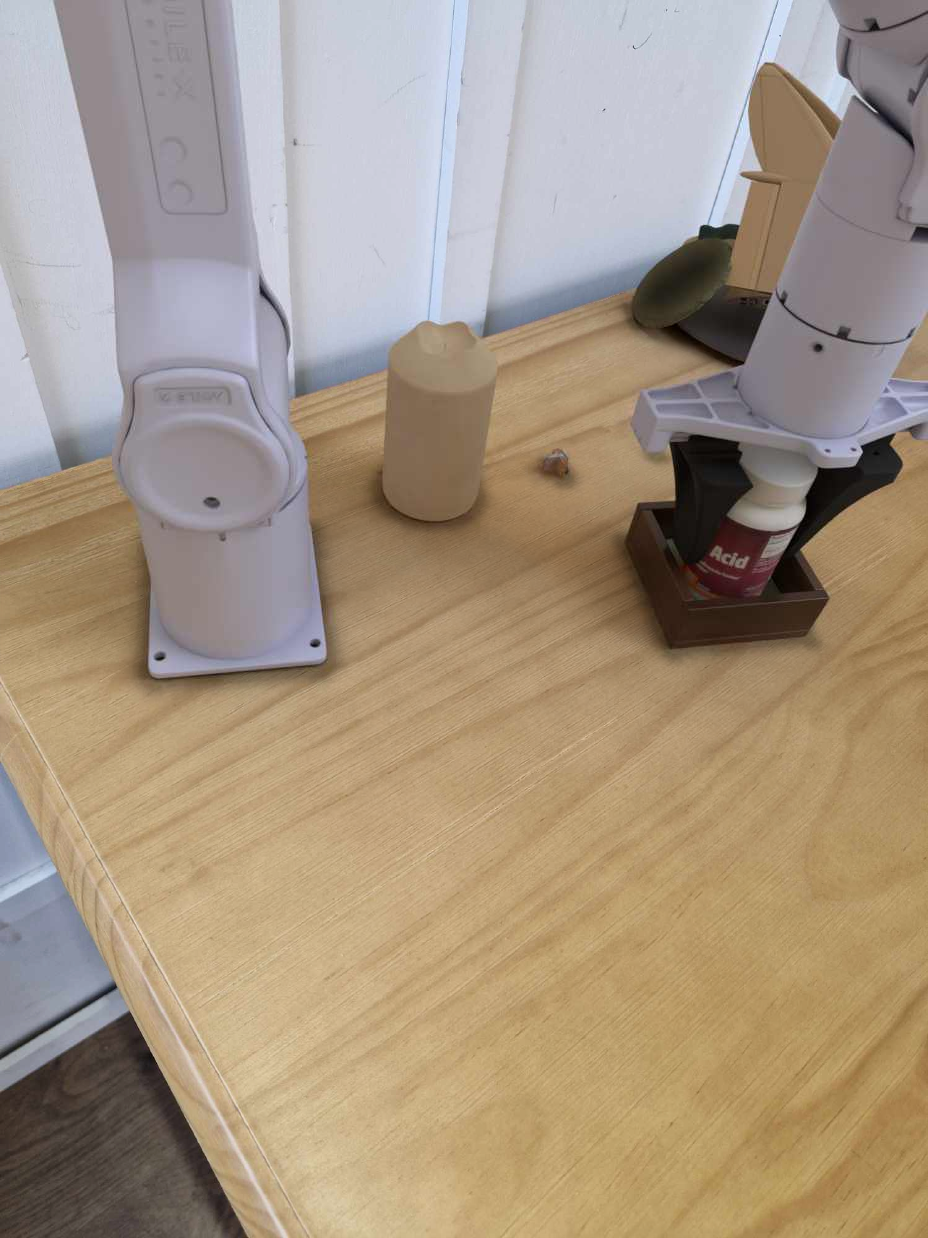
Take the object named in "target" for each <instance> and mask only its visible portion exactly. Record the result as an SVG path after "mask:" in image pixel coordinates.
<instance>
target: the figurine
mask: <svg viewBox="0 0 928 1238" xmlns="http://www.w3.org/2000/svg"><path fill="white" fill-rule="evenodd" d="M658 456H659V455H658V454H657V455H656V457H658ZM543 463H544V464H543V465H542V468H541V469H542V470H543V471H544V470H552V469H556V470H557V473H558V474H560V475H562V474H565V476H566V477H569V473H570V471H571V468H569V464H570V462H569V458H568V457H567V455H566V454H565V452H564V451H563V449H561V448H559V447H558V448H554V449H553V450H552V451H551V455H546V458H545V459H544V460H543Z"/></svg>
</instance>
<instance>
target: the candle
mask: <svg viewBox="0 0 928 1238" xmlns="http://www.w3.org/2000/svg"><path fill="white" fill-rule="evenodd" d="M498 370H499V361H498V359H497V357H496V354H494V353H493V351H492V349H490V347H489V346H488V345H487V344H486V343H485V342H484V341H483V340H482V339H481V338H480V337H479V336H478V335H477V334H475V332H474V331H473V330H472V329H471V328H470V326H469V325H468V324H467V323H466V322H464V321H460V320H459V321H458V320H457V321H453V322H449V323H445V324H438V323H436V322H435V321H431V320H423V321H420V322H419V323H417V325H416V326H415V327H413V328H412V329H411V330H410V331H409V332H407V333H406V334H405V335H403V336H402V337H400V338H399V339H398V340H397V341H396V342H394V344H393V345H391V348H390V349H389V352H388V360H387V380H386V397H385V398H386V399H385V416H384V417H385V420H384V439H383V456H382V457H383V459H382V482H381V483H382V490H383V494H384V496H385V498H386V500H387V501H388V503H389V504H390V505H391V506H392V507H393V508H394V509H395V510H396V511H398V512H400V513H401V514H403V515H404V516H406V517H410V518H413V519H416V520H419V521H425V522H443V521H449V520H453V519H456V518H458V517H461V516H462V515H464V514H466V513H467V512H468V511H469V510H470V509H471V508H472V507H473V506H474V504H475V502H476V500H477V497H478V496H479V495H478V494H479V489H480V484H481V479H482V472H483V465H484V459H485V455H486V454H485V453H486V447H487V441H488V435H489V429H490V428H489V427H490V424H491V423H490V422H491V415H492V409H493V403H494V397H495V391H496V383H497V378H498V372H499V371H498Z"/></svg>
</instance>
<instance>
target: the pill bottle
mask: <svg viewBox="0 0 928 1238" xmlns="http://www.w3.org/2000/svg"><path fill="white" fill-rule="evenodd" d="M738 449H739V451H742V456H741V459H740V461H739V463H740V464H741V466H742V468H743V469H744V471H745V473H746V474H747V476H748V478H749V479H750V481H751V483H752V484H753V486H754V487H753V488H752V489H751V490H749V491H748V492H747V493H746V494H745V495H743V496H742V497H741V498H740V499H739V500H738V501H737V503H736V504H735V505H734V506H733V507H732V508H731V510H730V511H729V512H728V513H727V515H726V516H725V518H724V519H723V520H722V522H721V523H720V525H719V527H718V529H717V531H716V533H715V535H714V537H713V540H712V542H711V544H710V546H709V548H708V550H707V552H706V554H705V555H704V556H703V558H702V559H701V560H700V561H699V562H698V564H687V565H686V564H684V563H683V561H682V559H681V557H680V555H678V558H677V561H676V562H677V564H678V566H679V568H680V570H681V572H682V574H683V576H684V578H685V581H686V583H687V585H688V587H689V589H690V591H691V593H692V595H693V597H694V598H695V599H696V600H709V599H721V598H733V597H745V596H757V595H760V594H761V593H762V591H763V589H764V587H765V585H766V584H767V582H768V580H769V578H770V576H771V574H772V572H773V571H774V569H775V567H776V565H777V564H778V562H779V560H780V558H781V556H782V554H783V553H784V551H785V549H786V547H787V545H788V544H789V542H790V540H791V538H792V536H793V535H794V533H795V531H796V529H797V528H798V526H799V524H800V522H801V521H802V519H803V517H804V515H805V511H806V497H805V496H806V494H807V493H808V491H809V489H810V487H811V485H812V483H813V481H814V479H815V478H816V475H817V472H818V466H816V465H814V464H813V463H812V462H811V460H810V459H809V457H808V456H807V455H805V454H803V453H797V452H792V451H786V450H781V449H775V448H770V447H764V446H759V445H753V444H748V443H742V442H740V444H739V446H738Z"/></svg>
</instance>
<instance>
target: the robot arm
mask: <svg viewBox="0 0 928 1238" xmlns="http://www.w3.org/2000/svg"><path fill="white" fill-rule="evenodd" d="M52 1H53V6H54V11H55V14H56V19H57V23H58V28H59V32H60V36H61V41H62V45H63V50H64V54H65V58H66V62H67V63H66V64H67V67H68V72H69V76H70V80H71V85H72V89H73V94H74V98H75V103H76V107H77V111H78V116H79V121H80V126H81V129H82V135H83V138H84V142H85V146H86V151H87V156H88V160H89V165H90V168H91V172H92V176H93V177H92V178H93V182H94V186H95V190H96V195H97V199H98V204H99V208H100V212H101V213H100V214H101V218H102V221H103V226H104V231H105V234H106V238H107V244H108V249H109V252H110V256H111V262H112V278H113V279H112V280H113V301H114V302H113V306H114V331H115V349H116V350H115V351H116V354H115V355H116V366H117V372H118V376H119V380H120V384H121V389H122V393H123V394H122V395H123V400H122V407H121V413H120V420H119V421H118V425H117V427H116V430H115V431H116V432H115V435H114V438H113V441H112V446H111V453H110V454H111V466H112V470H113V474H114V477H115V480H116V482H117V484H118V485H119V488H120V489H121V491H122V492H123V494H124V495H125V496H126V497H127V498H128V500H129V501H130V503H132V504H133V509H134V512H135V517H136V521H137V525H138V530H139V534H140V538H141V543H142V547H143V551H144V555H145V559H146V564H147V568H148V572H149V578H150V602H149V630H148V631H149V632H148V655H147V656H148V658H147V659H148V660H147V668H148V672H149V674H150V676H151V677H152V678H155V679H169V678H180V677H191V676H200V675H201V676H202V675H203V676H204V675H213V674H226V673H236V672H246V671H257V670H269V669H270V670H271V669H281V668H292V667H302V666H311V665H312V666H313V665H314V666H315V665H320V664H323V663H324V662H325V661H326V660H327V656H328V655H327V654H328V652H327V651H328V650H327V643H326V634H325V627H324V620H323V619H324V618H323V612H322V611H323V609H322V603H321V596H320V588H319V580H318V570H317V563H316V557H315V556H316V555H315V548H314V540H313V539H314V538H313V532H312V525H311V523H310V506H309V505H310V504H309V503H310V502H309V479H308V478H309V476H308V474H309V473H308V454H307V451H306V447H305V444H304V442H303V440H302V438H301V437H300V436H299V434H298V432H297V431H296V430H295V428H294V427H293V426H292V421H291V419H292V418H291V403H290V401H291V400H290V382H289V362H288V358H289V353H290V349H291V345H292V344H291V343H292V342H291V330H290V329H291V328H290V323H289V321H288V316H287V314H286V312H285V310H284V307H283V305H282V303H281V302H280V301H279V299H278V298H277V296H276V295H275V293H274V292H273V290H272V289H271V287H270V286H269V284H268V282H267V280H266V278H265V275H264V272H263V269H262V265H261V259H260V251H259V240H258V233H257V228H256V224H255V220H254V212H253V204H252V195H251V194H252V193H251V185H250V173H249V163H248V154H247V143H246V133H245V121H244V113H243V112H244V111H243V102H242V92H241V91H242V90H241V81H240V71H239V61H238V51H237V41H236V30H235V20H234V10H233V9H234V7H233V0H52ZM827 2H828V4H829V7H830V8H831V11H832V12H833V15H834V16H835V18H836V21H837V23H838V25H839V26H838V31H837V36H836V46H835V60H836V68H837V73H838V75H839V76H840V77H842V78H844V79H845V80H848V81H849V82H850V83H851V85H852V87H853V88H854V89H855V90H856V92H857V93H858V95H859V97H860V98H859V97H858V96H857V95H856V94H853V95H851V97H850V99H849V102H848V104H847V107H846V109H845V112H844V115H843V117H842V120H841V121H842V122H841V124H840V127H839V129H838V132H837V134H836V137H835V139H834V142H833V144H832V147H831V149H830V152H829V154H828V157H827V159H826V162H825V164H824V167H823V169H822V172H821V174H820V177H819V179H818V182H817V184H816V187H815V190H814V192H813V195H812V197H811V200H810V202H809V205H808V207H807V210H806V212H805V215H804V217H803V220H802V222H801V225H800V227H799V230H798V232H797V235H796V237H795V240H794V242H793V245H792V247H791V250H790V252H789V255H788V257H787V260H786V262H785V265H784V267H783V270H782V272H781V275H780V277H779V280H778V282H777V284H776V286H775V289H774V291H773V294H772V296H771V299H770V301H769V304H768V306H767V309H766V312H765V314H764V317H763V319H762V322H761V324H760V327H759V329H758V332H757V334H756V337H755V339H754V342H753V344H752V347H751V349H750V352H749V354H748V357H747V359H746V362H744V364H741V365H738V366H734V367H730V368H728V369H724V370H721V371H718V372H713V373H711V374H707V375H705V376H702V377H697V378H694V379H691V380H687V381H685V382H681V383H677V384H674V385H669V386H663V387H655V388H653V387H652V388H641V389H640V391H639V394H638V398H637V400H636V405H635V407H634V411H633V414H632V418H631V421H630V425H629V426H630V427H631V429H632V432H633V434H634V436H635V438H636V440H637V442H638V444H639V445H640V447H641V449H642V451H643V453H662V452H665V451H666V450H667V448H668V445H669V449H670V455H671V460H672V468H673V477H674V491H675V492H674V501H675V514H674V524H673V532H672V540H673V542H674V544H675V546H676V548H677V551H678V553H679V555H680V557H681V559H682V561H683V563H684V564H686V565H687V564H698V562H699V561H700V560H701V559H702V558H703V556H704V555H705V554H706V552H707V550H708V548H709V546H710V544H711V542H712V540H713V537H714V535H715V533H716V531H717V529H718V527H719V525H720V523H721V522H722V520H723V519H724V518H725V516H726V515H727V513H728V512H729V511H730V510H731V508H732V507H733V506H734V505H735V504H736V503H737V501H738V500H739V499H740V498H741V497H742V496H743V495H745V494H746V493H747V492H748V491H749V490H751V489H752V488H753V487H754V486H753V484H752V483H751V481H750V479H749V478H748V476H747V474H746V473H745V471H744V469H743V468H742V466H741V464H740V463H739V461H740V459H741V456H742V451H739V449H738V446H739V444H740V442H742V443H748V444H753V445H759V446H764V447H770V448H775V449H781V450H786V451H792V452H797V453H803V454H805V455H807V456H808V457H809V459H810V460H811V462H812V463H813V464H814V465H816V466H818V472H817V475H816V478H815V479H814V481H813V483H812V485H811V487H810V489H809V491H808V493H807V494H806V496H805V497H806V511H805V515H804V517H803V519H802V521H801V522H800V524H799V526H798V528H797V529H796V531H795V533H794V535H793V536H792V538H791V540H790V542H789V544H788V545H787V547H786V549H785V551H784V553H783V554H782V556H781V557H782V558H783V557H792V556H793V555H795V554H796V553H797V552H798V551H799V550H802V549H803V548H804V547H805V545H807V544H808V543H809V542H811V540H812V539H813V538H814V537H815V536H816V535H817V534H818V533H819V532H820V531H822V530H823V528H825V527H826V526H827V525H828V524H829V523H830V522H831V521H833V520H834V519H836V517H838V516H839V515H840V514H842V513H843V512H844V511H845V510H847V509H848V508H850V507H851V506H853V505H854V504H855V503H857V502H858V501H860V500H862V499H864V498H865V497H867V496H868V495H870V494H872V493H874V492H875V491H878V490H880V489H882V488H884V487H886V486H889V485H891V484H894V482H895V481H896V479H897V477H898V476H899V474H900V472H901V471H902V469H903V467H904V462H903V459H902V458H901V456H900V455H899V454H898V452H897V451H896V450H895V448H894V447H893V446H892V444H891V443H892V441H893V440H894V438H895V436H896V433H909V434H910V436H911V437H912V438H913V439H914V440H916V441H928V380H914V379H905V378H898V377H893V376H894V373H895V371H896V370H897V368H898V366H899V364H900V363H901V360H902V359H903V357H904V355H905V353H906V351H907V349H908V347H909V346H910V344H911V342H912V340H913V338H914V337H915V335H916V334H917V331H918V330H919V328H920V326H921V325H922V323H923V321H924V319H925V317H926V315H927V314H928V0H827ZM861 99H862V100H863V101H862V100H861ZM313 645H318V646H316V647H315V646H313ZM160 658H163V659H161V660H157V659H160Z"/></svg>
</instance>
